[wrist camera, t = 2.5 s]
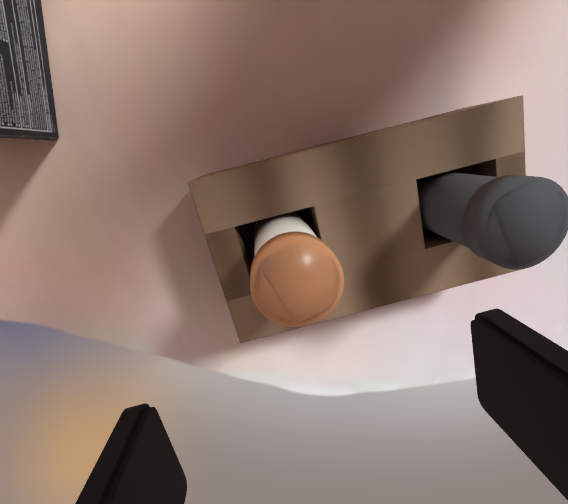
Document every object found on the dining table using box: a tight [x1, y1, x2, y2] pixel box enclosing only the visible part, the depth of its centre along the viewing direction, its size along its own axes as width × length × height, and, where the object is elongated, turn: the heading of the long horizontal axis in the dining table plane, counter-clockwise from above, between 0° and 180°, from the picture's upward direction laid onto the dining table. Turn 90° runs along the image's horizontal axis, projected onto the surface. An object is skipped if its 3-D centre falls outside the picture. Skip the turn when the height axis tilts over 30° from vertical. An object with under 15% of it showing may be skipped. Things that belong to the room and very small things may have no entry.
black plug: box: [416, 172, 568, 270], centre depth 23 cm, size 5×5×12 cm
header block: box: [188, 95, 526, 343], centre depth 26 cm, size 22×12×6 cm, turn 104°
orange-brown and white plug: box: [250, 211, 344, 327], centre depth 23 cm, size 5×5×12 cm
